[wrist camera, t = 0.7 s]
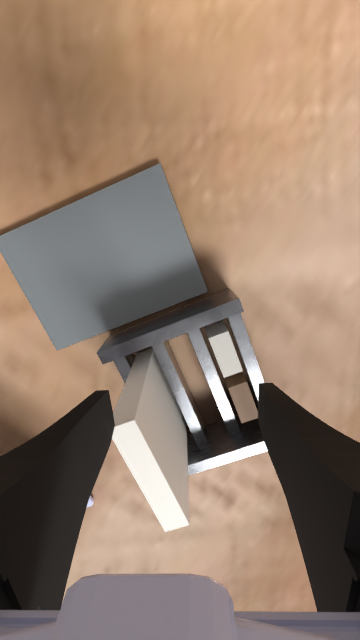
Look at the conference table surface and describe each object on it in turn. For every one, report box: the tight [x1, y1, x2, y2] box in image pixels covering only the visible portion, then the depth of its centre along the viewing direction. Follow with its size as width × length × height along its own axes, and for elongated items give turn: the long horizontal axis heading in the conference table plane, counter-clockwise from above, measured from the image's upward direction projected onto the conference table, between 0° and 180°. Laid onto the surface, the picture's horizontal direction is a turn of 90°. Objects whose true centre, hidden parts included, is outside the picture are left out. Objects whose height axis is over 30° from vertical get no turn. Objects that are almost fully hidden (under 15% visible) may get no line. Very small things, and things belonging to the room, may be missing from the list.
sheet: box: [112, 348, 190, 532], centre depth 20 cm, size 2×8×10 cm, turn 21°
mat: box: [0, 163, 208, 350], centre depth 21 cm, size 14×10×1 cm
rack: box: [97, 289, 268, 476], centre depth 22 cm, size 11×13×4 cm
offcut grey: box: [205, 320, 243, 378], centre depth 22 cm, size 2×4×3 cm, turn 22°
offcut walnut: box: [225, 372, 258, 423], centre depth 23 cm, size 2×4×3 cm, turn 22°
